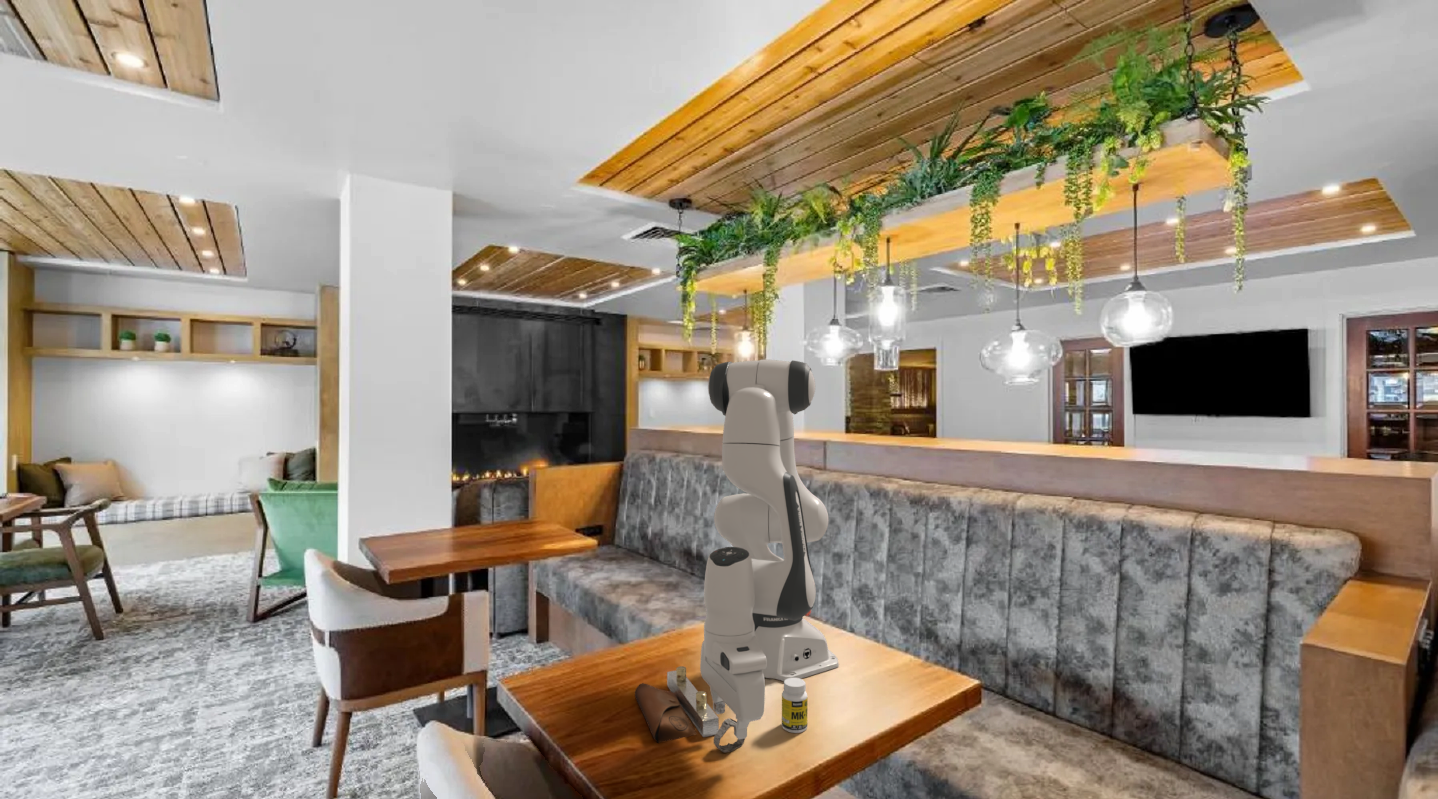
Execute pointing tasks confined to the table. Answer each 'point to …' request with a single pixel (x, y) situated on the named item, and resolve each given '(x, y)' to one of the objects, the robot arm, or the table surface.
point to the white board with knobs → (693, 702)
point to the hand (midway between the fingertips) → (729, 724)
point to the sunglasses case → (663, 713)
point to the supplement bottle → (794, 705)
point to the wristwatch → (724, 727)
